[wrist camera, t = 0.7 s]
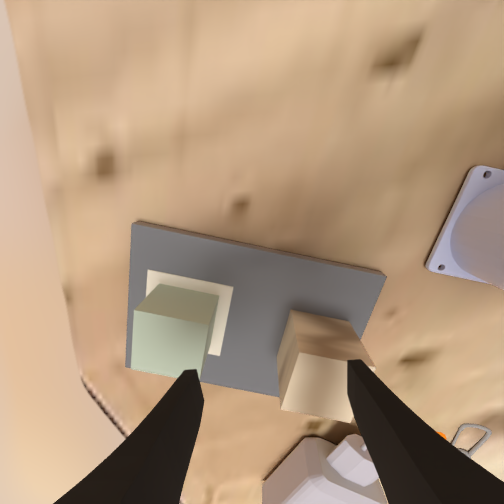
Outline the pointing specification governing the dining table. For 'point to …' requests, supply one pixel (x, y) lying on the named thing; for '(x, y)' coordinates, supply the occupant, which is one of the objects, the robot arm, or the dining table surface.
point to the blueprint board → (246, 296)
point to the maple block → (317, 365)
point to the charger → (325, 475)
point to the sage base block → (173, 331)
